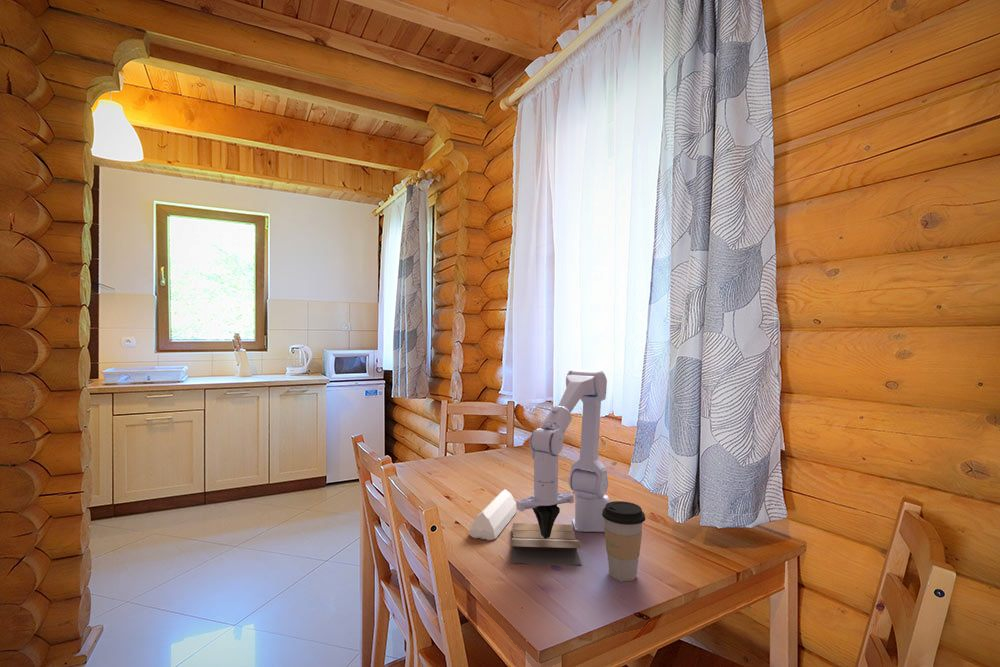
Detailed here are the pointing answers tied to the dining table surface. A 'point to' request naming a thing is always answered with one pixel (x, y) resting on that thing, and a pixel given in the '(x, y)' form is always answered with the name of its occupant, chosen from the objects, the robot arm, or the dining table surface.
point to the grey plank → (545, 543)
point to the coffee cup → (623, 538)
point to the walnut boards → (534, 532)
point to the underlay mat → (545, 555)
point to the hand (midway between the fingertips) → (545, 536)
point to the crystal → (494, 517)
